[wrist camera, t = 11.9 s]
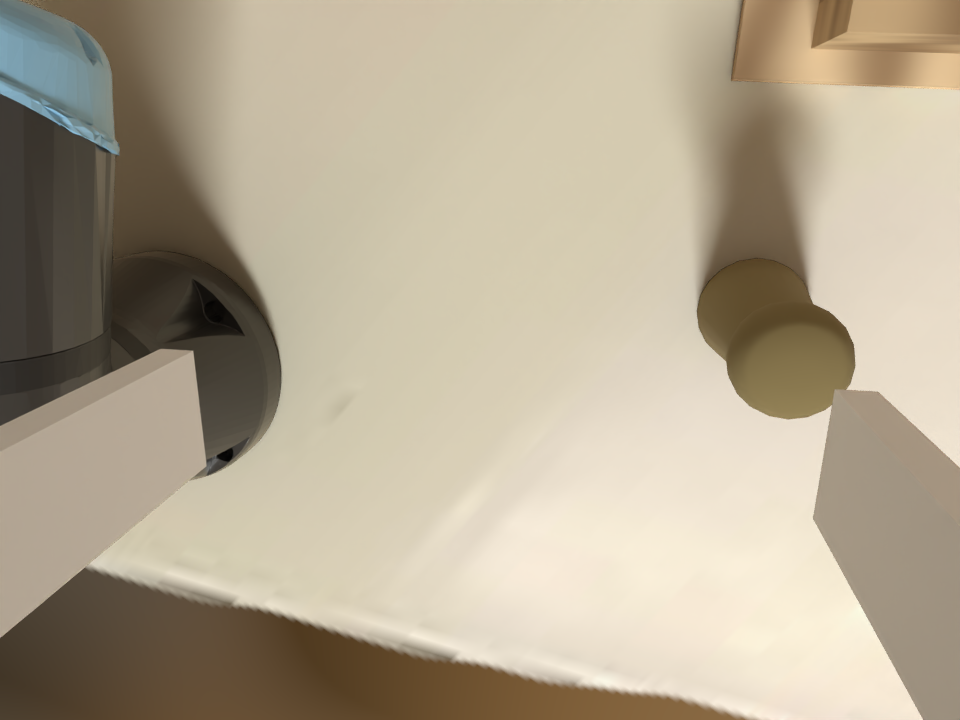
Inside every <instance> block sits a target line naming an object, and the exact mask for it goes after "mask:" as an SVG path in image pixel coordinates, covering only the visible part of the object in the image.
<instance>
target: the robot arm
mask: <svg viewBox="0 0 960 720" xmlns="http://www.w3.org/2000/svg"><path fill="white" fill-rule="evenodd" d="M119 151H120V148H119V143H118V142H117V141H116V140H115V132H114V114H113V93H112V72H111V67H110V64H109V61H108V58H107V56H106V54H105V52H104V51H103V49H102V47H101V46H100V45H99V43H98V42H97V41H96V40H95V39H94V38H93V37H92V36H91V35H90V34H89V33H88V32H87V31H85V30H84V29H83V28H81V27H80V26H78V25H77V24H75V23H73V22H71V21H69V20H67V19H65V18H63V17H61V16H58V15H56V14H53V13H51V12H48V11H46V10H43V9H41V8H38V7H36V6H33V5H30V4H28V3H25V2H23V1H20V0H0V637H2V636H3V635H4V634H5V633H6V632H7V631H9V630H10V629H11V628H12V627H14V626H15V625H16V624H17V623H18V622H20V621H21V620H22V619H23V618H25V617H26V616H27V615H28V614H29V613H31V612H32V611H33V610H34V609H35V608H37V607H38V606H39V605H40V604H41V603H43V602H44V601H45V600H46V599H47V598H49V597H50V596H51V595H52V594H53V593H55V592H56V591H57V590H58V589H59V588H61V587H62V586H63V585H64V584H65V583H67V582H68V581H69V580H70V579H71V578H72V577H74V576H75V575H76V574H77V573H79V572H80V571H81V570H82V569H83V568H85V567H86V566H87V565H88V564H89V563H91V562H92V561H93V560H94V559H95V558H97V557H98V556H99V555H100V554H101V553H103V552H104V551H105V550H106V549H107V548H109V547H110V546H111V545H112V544H113V543H115V542H116V541H117V540H118V539H119V538H121V537H122V536H123V535H124V534H126V533H127V532H128V531H129V530H130V529H132V528H133V527H134V526H135V525H136V524H138V523H139V522H140V521H141V520H142V519H144V518H145V517H146V516H147V515H148V514H150V513H151V512H152V511H153V510H154V509H156V508H157V507H158V506H159V505H160V504H162V503H163V502H164V501H165V500H166V499H168V498H169V497H170V496H171V495H172V494H174V493H175V492H176V491H177V490H178V489H180V488H181V487H182V486H183V485H184V484H186V483H187V482H188V481H190V480H194V479H198V478H202V477H206V476H209V475H211V474H214V473H216V472H218V471H220V470H222V469H224V468H226V467H228V466H229V465H231V464H232V463H234V462H235V461H236V460H238V459H239V458H240V457H241V456H243V455H244V454H245V453H246V452H247V451H249V450H250V449H251V448H252V447H253V446H254V445H255V444H256V443H257V442H258V441H259V440H260V439H261V438H262V437H263V435H264V434H265V432H266V431H267V429H268V428H269V426H270V424H271V422H272V420H273V418H274V415H275V412H276V409H277V406H278V402H279V396H280V387H281V374H280V364H279V358H278V353H277V349H276V346H275V343H274V340H273V337H272V334H271V332H270V330H269V328H268V326H267V324H266V322H265V320H264V318H263V316H262V315H261V313H260V312H259V310H258V309H257V307H256V306H255V304H254V303H253V302H252V300H251V299H250V298H249V297H248V296H247V295H246V293H245V292H244V291H243V290H242V289H241V288H240V287H239V286H238V285H237V284H236V283H234V282H233V281H232V280H231V279H230V278H229V277H227V276H226V275H224V274H223V273H222V272H220V271H219V270H217V269H216V268H214V267H212V266H210V265H208V264H207V263H204V262H202V261H200V260H198V259H195V258H192V257H190V256H186V255H183V254H178V253H173V252H163V251H151V252H142V253H138V254H133V255H129V256H125V257H121V258H116V259H113V212H114V182H115V155H119ZM813 519H814V521H815V523H816V525H817V527H818V528H819V530H820V532H821V534H822V536H823V538H824V539H825V541H826V543H827V545H828V547H829V548H830V550H831V552H832V554H833V556H834V558H835V559H836V561H837V563H838V565H839V567H840V569H841V570H842V572H843V574H844V576H845V578H846V580H847V581H848V583H849V585H850V587H851V589H852V590H853V592H854V594H855V596H856V598H857V600H858V601H859V603H860V605H861V607H862V609H863V611H864V612H865V614H866V616H867V618H868V620H869V622H870V623H871V625H872V627H873V629H874V631H875V633H876V634H877V636H878V638H879V640H880V642H881V643H882V645H883V647H884V649H885V651H886V653H887V654H888V656H889V658H890V660H891V662H892V664H893V665H894V667H895V669H896V671H897V673H898V675H899V676H900V678H901V680H902V682H903V684H904V685H905V687H906V689H907V691H908V693H909V695H910V696H911V698H912V700H913V702H914V704H915V706H916V707H917V709H918V711H919V713H920V715H921V717H922V718H923V720H960V468H959V467H958V466H957V465H956V464H955V463H954V462H953V461H952V460H951V459H950V458H949V457H948V456H946V455H945V454H944V453H943V452H942V451H941V450H940V449H939V448H938V447H937V446H936V445H935V444H934V443H933V442H931V441H930V440H929V439H928V438H927V437H926V436H925V435H924V434H923V433H922V432H921V431H920V430H919V429H917V428H916V427H915V426H914V425H913V424H912V423H911V422H910V421H909V420H908V419H907V418H906V417H905V416H904V415H902V414H901V413H900V412H899V411H898V410H897V409H896V408H895V407H894V406H893V405H892V404H891V403H890V402H889V401H887V400H886V399H885V398H884V397H883V396H882V395H881V394H880V393H879V392H873V391H856V390H840V389H835V391H834V397H833V403H832V409H831V415H830V421H829V426H828V432H827V438H826V444H825V450H824V456H823V462H822V468H821V474H820V480H819V486H818V492H817V498H816V504H815V510H814V516H813Z"/></svg>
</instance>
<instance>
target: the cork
mask: <svg viewBox="0 0 960 720" xmlns="http://www.w3.org/2000/svg"><path fill="white" fill-rule="evenodd" d="M697 317H698V325H699V329H700V331H701V333H702V335H703V337H704V339H705V341H706V343H707V344H708V345H709V346H710V347H711V348H712V349H713V350H714V351H715V352H716V353H717V354H719V355H720V356H721V357H722V358H723V359H724V360H725V361H726V362H727V371H728V376H729V378H730V380H731V382H732V384H733V386H734V388H735V390H736V392H737V394H738V395H739V396H740V397H741V398H742V399H743V400H744V401H745V402H746V403H747V404H748V405H749V406H751V407H752V408H754V409H756V410H758V411H760V412H762V413H764V414H767V415H769V416H772V417H778V418H784V419H795V418H805V417H809V416H811V415H814V414H816V413H819V412H821V411H824V410H826V409H827V408H828V407H830V406H831V405H832V403H833V397H834V391H835V389H840V390H846V389H847V387H848V386H849V385H850V383H851V380H852V376H853V373H854V369H855V353H854V344H853V342H852V340H851V338H850V336H849V333H848V331H847V329H846V327H845V326H844V325H843V324H842V323H841V322H840V321H839V320H838V319H837V318H836V317H835V316H834V315H833V314H831V313H830V312H829V311H826V310H824V309H822V308H820V307H818V306H816V305H814V304H813V303H812V300H811V298H810V296H809V294H808V292H807V289H806V287H805V285H804V283H803V281H802V280H801V279H800V278H799V277H798V276H797V275H796V274H795V273H794V272H793V271H792V270H791V269H790V268H789V267H786V266H784V265H782V264H780V263H778V262H776V261H773V260H766V259H758V258H755V259H749V260H743V261H738V262H736V263H734V264H732V265H730V266H727V267H725V268H723V269H722V270H721V271H719V272H718V273H717V274H716V275H715V276H714V277H713V278H712V279H711V280H710V281H709V282H708V284H707V285H706V287H705V289H704V290H703V292H702V294H701V296H700V300H699V304H698V309H697Z"/></svg>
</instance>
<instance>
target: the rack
mask: <svg viewBox="0 0 960 720" xmlns="http://www.w3.org/2000/svg"><path fill="white" fill-rule="evenodd" d="M731 81H752V82H778V83H804V84H830V85H855V86H881V87H907V88H932V89H958V90H960V0H743V3H742V10H741V17H740V24H739V31H738V37H737V44H736V51H735V58H734V65H733V71H732V78H731Z"/></svg>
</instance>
